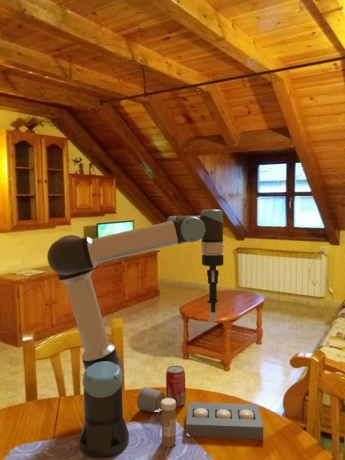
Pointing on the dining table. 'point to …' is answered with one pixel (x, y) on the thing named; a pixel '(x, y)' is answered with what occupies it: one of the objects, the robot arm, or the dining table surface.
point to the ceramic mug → (149, 399)
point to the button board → (224, 422)
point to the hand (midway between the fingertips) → (213, 320)
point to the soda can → (176, 384)
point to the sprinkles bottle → (168, 422)
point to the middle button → (223, 414)
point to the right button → (246, 414)
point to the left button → (201, 413)
